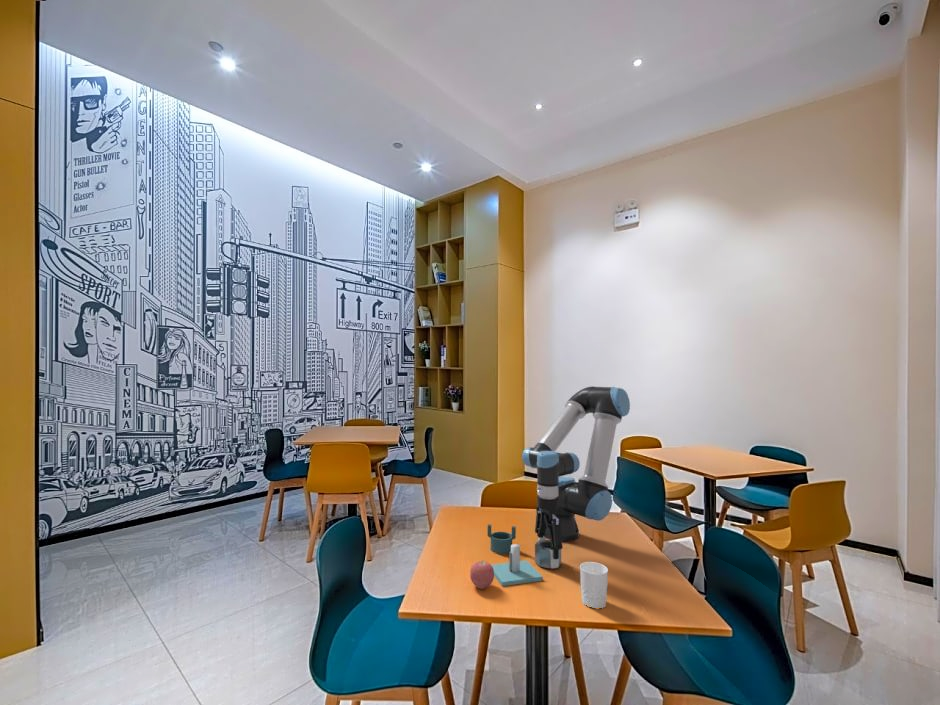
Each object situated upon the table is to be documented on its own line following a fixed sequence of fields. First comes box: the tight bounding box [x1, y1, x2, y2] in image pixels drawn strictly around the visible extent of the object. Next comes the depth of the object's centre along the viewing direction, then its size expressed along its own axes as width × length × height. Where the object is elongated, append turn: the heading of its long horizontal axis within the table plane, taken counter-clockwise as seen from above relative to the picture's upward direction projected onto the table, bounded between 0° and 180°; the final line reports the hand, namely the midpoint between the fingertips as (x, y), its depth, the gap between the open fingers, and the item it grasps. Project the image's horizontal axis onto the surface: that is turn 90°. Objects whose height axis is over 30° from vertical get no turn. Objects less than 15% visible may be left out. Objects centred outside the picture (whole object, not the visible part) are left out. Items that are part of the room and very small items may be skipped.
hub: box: [534, 539, 562, 570], centre depth 144 cm, size 8×8×6 cm
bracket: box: [487, 524, 517, 555], centre depth 156 cm, size 9×9×9 cm
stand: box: [491, 543, 544, 587], centre depth 136 cm, size 14×12×9 cm
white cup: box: [579, 561, 609, 609], centre depth 120 cm, size 8×8×10 cm
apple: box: [469, 560, 495, 589], centre depth 128 cm, size 7×7×8 cm
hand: (548, 561), depth 144 cm, fingers closed on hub, 8 cm apart
